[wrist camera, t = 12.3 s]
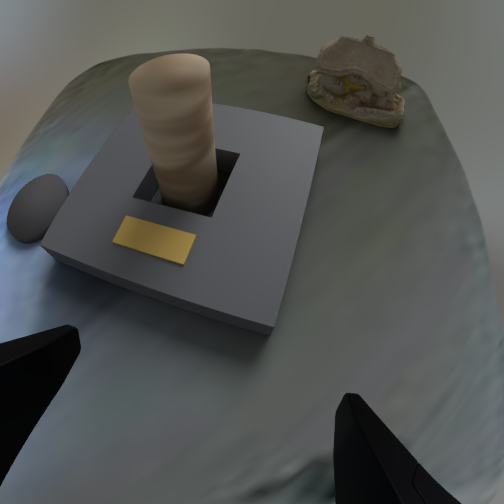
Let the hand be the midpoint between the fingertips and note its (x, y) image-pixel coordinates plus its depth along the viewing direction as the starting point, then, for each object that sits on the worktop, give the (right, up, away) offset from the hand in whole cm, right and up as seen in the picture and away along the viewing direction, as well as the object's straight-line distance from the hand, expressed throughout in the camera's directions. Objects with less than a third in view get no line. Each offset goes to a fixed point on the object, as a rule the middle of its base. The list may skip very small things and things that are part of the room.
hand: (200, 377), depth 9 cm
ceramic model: (+15, +24, +27) cm, 40 cm away
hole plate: (-4, +9, +18) cm, 21 cm away
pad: (-21, +8, +17) cm, 28 cm away
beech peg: (-4, +9, +18) cm, 21 cm away
